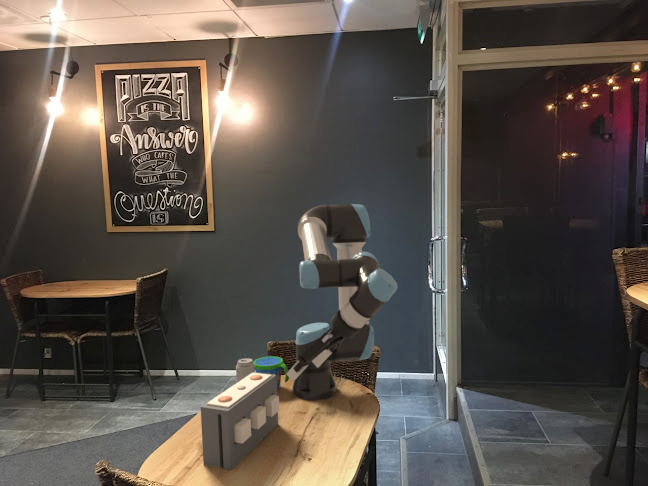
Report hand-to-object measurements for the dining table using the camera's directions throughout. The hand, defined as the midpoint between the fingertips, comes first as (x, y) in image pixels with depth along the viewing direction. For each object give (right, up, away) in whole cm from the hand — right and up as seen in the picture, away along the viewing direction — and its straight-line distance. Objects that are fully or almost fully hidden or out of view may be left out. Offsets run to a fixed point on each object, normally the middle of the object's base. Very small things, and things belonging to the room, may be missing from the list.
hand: (303, 370), depth 133 cm
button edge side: (-15, -15, -10) cm, 23 cm away
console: (-16, -20, 0) cm, 26 cm away
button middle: (-12, -14, -2) cm, 19 cm away
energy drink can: (-19, -18, +25) cm, 37 cm away
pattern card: (-16, -5, -2) cm, 17 cm away
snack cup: (-14, -17, +39) cm, 44 cm away
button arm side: (-9, -14, +5) cm, 17 cm away
